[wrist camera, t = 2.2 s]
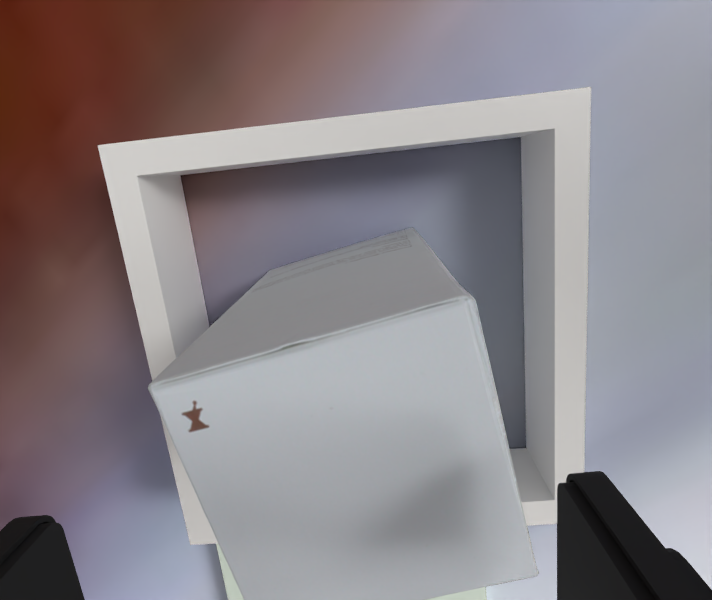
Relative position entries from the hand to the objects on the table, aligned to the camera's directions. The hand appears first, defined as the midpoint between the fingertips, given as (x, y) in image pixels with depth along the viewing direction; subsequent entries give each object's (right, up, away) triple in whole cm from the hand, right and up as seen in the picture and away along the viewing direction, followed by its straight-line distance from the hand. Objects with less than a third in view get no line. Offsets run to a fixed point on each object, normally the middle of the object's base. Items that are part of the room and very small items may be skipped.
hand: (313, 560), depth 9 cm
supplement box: (+1, +4, +14) cm, 15 cm away
